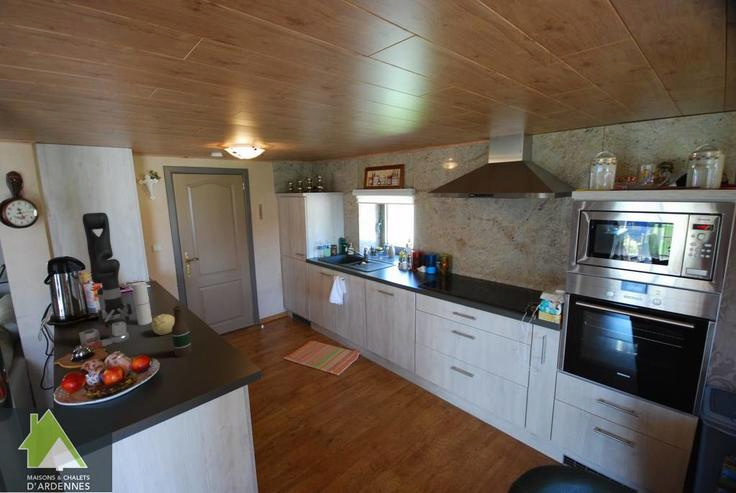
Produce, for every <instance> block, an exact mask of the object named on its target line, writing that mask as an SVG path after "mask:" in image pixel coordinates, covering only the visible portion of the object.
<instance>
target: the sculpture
mask: <svg viewBox="0 0 736 493" xmlns="http://www.w3.org/2000/svg"><path fill="white" fill-rule="evenodd" d="M174 321H175V319H174V315H171V314H166V313H161V314H158V315H157V316H155V317H154V318H152V322H151V327H152V328H151V329H152V331H153V333H155V334H156V335H159V336H165V335H168V334H170V333H172V327H173V325H174Z"/></svg>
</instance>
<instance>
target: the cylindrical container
mask: <svg viewBox="0 0 736 493" xmlns="http://www.w3.org/2000/svg"><path fill="white" fill-rule="evenodd" d="M131 287H132V293H133V294H132V295H133V300H134V306H135V311H136V317H137V318H136V319H137V324H138V325H139V326H144V325H145V326H146V325H149V324H150V323H151V324H152V319H153V317H152V313H151V312H152V311H151V306H150V305H151V304H150V298H149V292H148V286H147V282H146V281H139V282H138V281H137V282H134V283H132V284H131Z"/></svg>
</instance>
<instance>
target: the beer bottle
mask: <svg viewBox="0 0 736 493" xmlns="http://www.w3.org/2000/svg"><path fill="white" fill-rule="evenodd" d="M172 310H173V314H174V315H173V317H174V319H175V321H174V325H173V327H172V332H171V336H172V342H173V343H172V345H173V350H174V355H175V357H180V358H182V357H185V356H189V355H190V354H191V353H192V351H193V350H192V348H193V347H192V341H191V332H190V328H189V326H188V324H187V322H185V321H184V317H183V313H182V306H181V305H177V306H173V308H172Z"/></svg>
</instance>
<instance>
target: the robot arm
mask: <svg viewBox="0 0 736 493" xmlns="http://www.w3.org/2000/svg"><path fill="white" fill-rule="evenodd" d="M82 224H83V225H82V226H83V228H84V233H85V236H86V237H85V238H86V245H87V252H88V253H87V255H88V259H89V264H90V277H91V281H92V283H93V284H96V285H97V284H101V287H100V288H98V289H97V290H96V292H97V293H96V294H97V298H98V304H99V309H98V311H97V314H98V321H99V322H100V323H102V322H103V324H104V327H105V328H106V329H109V328H110V324H109V321H114V320H117V319H119V318H120V317H121V314H123V315H124V319H125V320H124V322H125V323H126V324H128V323H129V322H130V317H129V316H130V315H133V310H132V307H131V304H130V303H129V302H126V303H125V304H123V303H124V302H123V297H122V291H121V288H120V283H119V273H120V268H121V263H120V261H119V260H118V259H117V258H113V256H114V253H113V248H112V244H111V230H110V228H111V227H110V221H109V217H108V215H107V213H106V212H89V213H83V215H82ZM94 230H102V231H101V233H100V235H99V236H98V235H97V234H96V233H95V232H94ZM125 308H126V309H127V312H125V311H124V309H125Z"/></svg>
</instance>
